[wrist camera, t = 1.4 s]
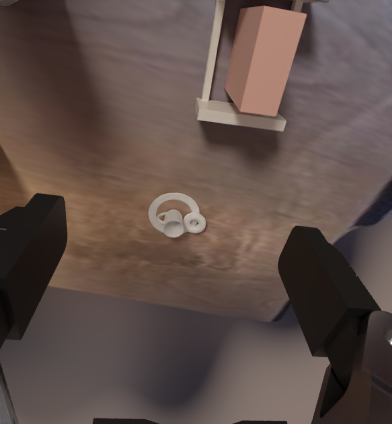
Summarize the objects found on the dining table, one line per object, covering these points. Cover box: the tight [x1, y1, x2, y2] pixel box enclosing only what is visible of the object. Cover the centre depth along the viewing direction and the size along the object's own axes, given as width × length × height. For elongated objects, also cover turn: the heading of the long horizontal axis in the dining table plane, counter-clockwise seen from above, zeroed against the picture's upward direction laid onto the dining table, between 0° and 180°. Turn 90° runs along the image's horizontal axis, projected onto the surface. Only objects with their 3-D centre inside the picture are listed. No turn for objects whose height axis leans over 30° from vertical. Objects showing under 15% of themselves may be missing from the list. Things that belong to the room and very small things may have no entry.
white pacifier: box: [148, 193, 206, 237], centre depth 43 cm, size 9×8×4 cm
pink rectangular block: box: [225, 6, 307, 116], centre depth 28 cm, size 8×4×10 cm, turn 171°
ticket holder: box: [195, 0, 329, 131], centre depth 30 cm, size 14×10×6 cm
